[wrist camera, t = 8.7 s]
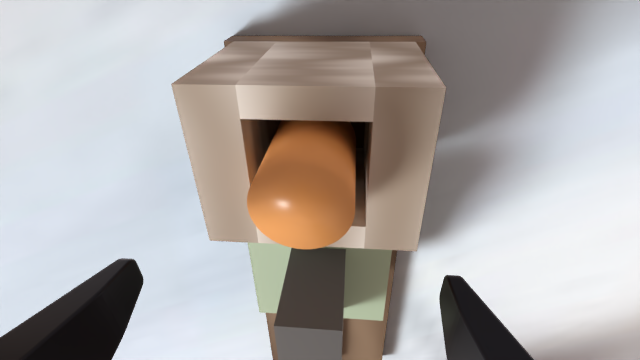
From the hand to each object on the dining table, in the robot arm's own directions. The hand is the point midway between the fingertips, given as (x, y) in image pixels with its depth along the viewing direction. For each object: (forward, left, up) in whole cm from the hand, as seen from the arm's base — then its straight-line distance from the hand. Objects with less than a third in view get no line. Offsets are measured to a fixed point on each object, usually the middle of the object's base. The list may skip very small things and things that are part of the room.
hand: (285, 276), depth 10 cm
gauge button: (0, -1, -7) cm, 7 cm away
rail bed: (0, +10, -13) cm, 16 cm away
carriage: (0, +8, -10) cm, 13 cm away
